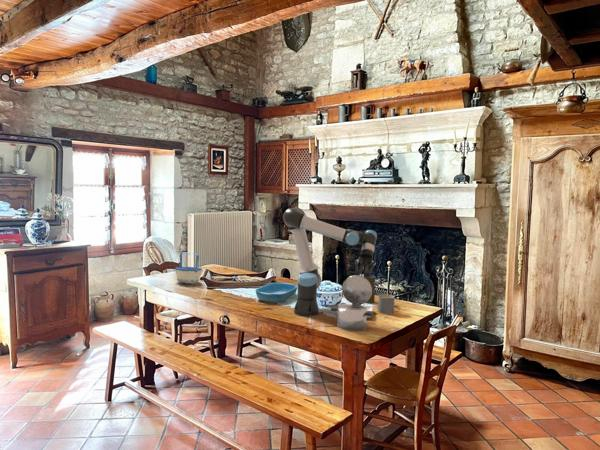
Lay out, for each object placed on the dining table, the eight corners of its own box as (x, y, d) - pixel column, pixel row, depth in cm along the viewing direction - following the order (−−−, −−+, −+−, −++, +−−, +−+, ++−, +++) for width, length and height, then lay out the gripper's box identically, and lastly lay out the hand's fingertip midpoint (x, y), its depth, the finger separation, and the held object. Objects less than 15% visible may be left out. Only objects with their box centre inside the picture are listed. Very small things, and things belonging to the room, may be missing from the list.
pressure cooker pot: (326, 326, 229) (327, 308, 228) (336, 319, 243) (336, 302, 243) (369, 333, 220) (369, 314, 219) (375, 325, 234) (376, 307, 234)
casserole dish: (280, 305, 271) (280, 294, 270) (249, 301, 279) (249, 290, 279) (301, 294, 305) (302, 284, 304) (274, 290, 313) (274, 281, 313)
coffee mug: (392, 314, 257) (393, 298, 256) (376, 312, 261) (376, 296, 260) (396, 309, 269) (396, 294, 269) (380, 307, 273) (381, 292, 272)
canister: (374, 303, 283) (375, 274, 281) (358, 302, 285) (360, 273, 283) (374, 300, 293) (376, 271, 292) (359, 298, 295) (361, 270, 294)
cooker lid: (342, 274, 239) (343, 272, 242) (342, 303, 242) (343, 301, 245) (371, 277, 232) (373, 275, 235) (371, 307, 235) (372, 305, 239)
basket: (204, 283, 331) (205, 253, 329) (187, 286, 318) (187, 255, 316) (188, 279, 344) (189, 250, 342) (171, 282, 331) (171, 252, 329)
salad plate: (372, 320, 244) (372, 315, 244) (336, 317, 248) (336, 312, 248) (372, 311, 265) (372, 306, 265) (338, 308, 269) (338, 303, 268)
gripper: (379, 256, 253) (373, 289, 239) (356, 255, 258) (349, 287, 244) (378, 249, 248) (371, 282, 234) (355, 247, 253) (347, 280, 239)
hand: (360, 284), depth 239 cm, fingers closed
